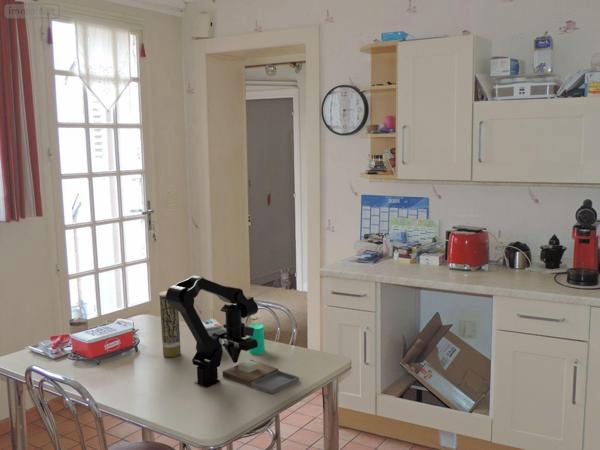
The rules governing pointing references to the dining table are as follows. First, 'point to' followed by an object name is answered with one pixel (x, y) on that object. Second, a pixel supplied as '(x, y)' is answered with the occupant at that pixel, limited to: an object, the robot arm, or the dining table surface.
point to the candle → (258, 338)
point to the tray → (274, 382)
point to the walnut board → (249, 377)
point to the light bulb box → (212, 327)
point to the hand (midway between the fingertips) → (235, 362)
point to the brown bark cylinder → (169, 327)
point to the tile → (248, 366)
